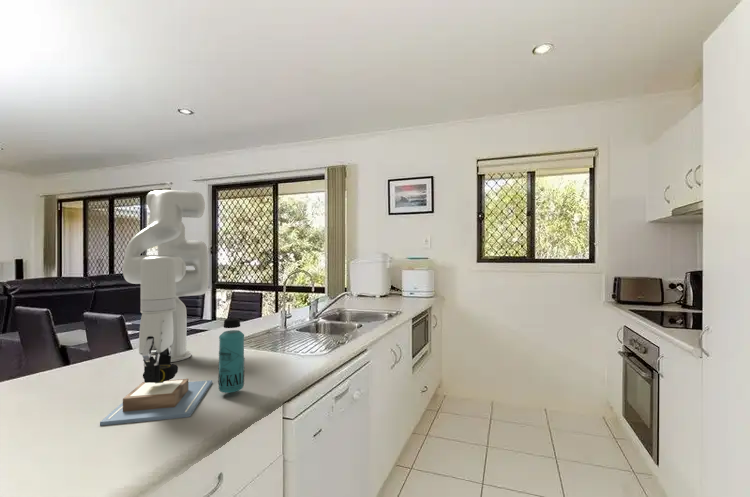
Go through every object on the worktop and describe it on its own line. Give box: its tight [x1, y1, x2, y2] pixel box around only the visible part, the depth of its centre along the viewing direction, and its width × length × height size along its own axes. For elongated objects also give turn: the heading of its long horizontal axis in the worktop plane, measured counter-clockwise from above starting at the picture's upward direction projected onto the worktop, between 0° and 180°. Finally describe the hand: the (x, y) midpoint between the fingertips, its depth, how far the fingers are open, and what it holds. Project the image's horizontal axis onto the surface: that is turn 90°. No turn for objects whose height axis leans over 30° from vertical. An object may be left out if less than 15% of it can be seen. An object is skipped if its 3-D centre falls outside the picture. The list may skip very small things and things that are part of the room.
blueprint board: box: [99, 378, 213, 427], centre depth 90 cm, size 22×18×4 cm
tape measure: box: [142, 363, 179, 383], centre depth 89 cm, size 7×7×4 cm
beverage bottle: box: [217, 317, 246, 394], centre depth 95 cm, size 6×7×20 cm
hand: (158, 375), depth 89 cm, fingers closed on tape measure, 7 cm apart
